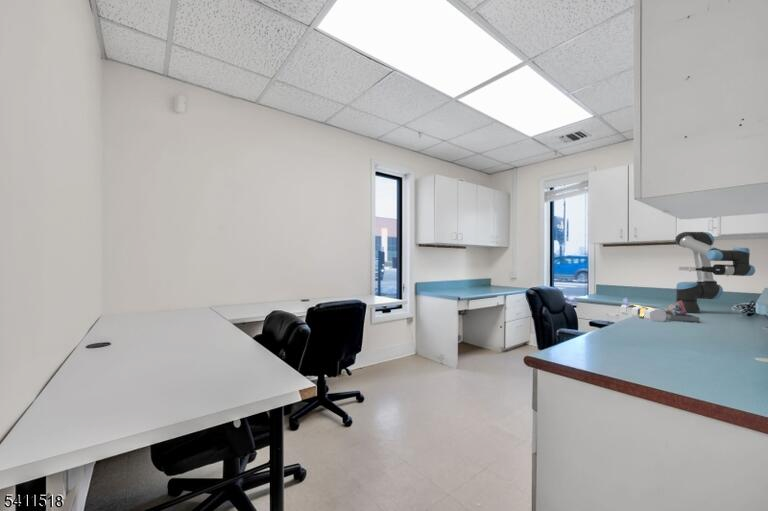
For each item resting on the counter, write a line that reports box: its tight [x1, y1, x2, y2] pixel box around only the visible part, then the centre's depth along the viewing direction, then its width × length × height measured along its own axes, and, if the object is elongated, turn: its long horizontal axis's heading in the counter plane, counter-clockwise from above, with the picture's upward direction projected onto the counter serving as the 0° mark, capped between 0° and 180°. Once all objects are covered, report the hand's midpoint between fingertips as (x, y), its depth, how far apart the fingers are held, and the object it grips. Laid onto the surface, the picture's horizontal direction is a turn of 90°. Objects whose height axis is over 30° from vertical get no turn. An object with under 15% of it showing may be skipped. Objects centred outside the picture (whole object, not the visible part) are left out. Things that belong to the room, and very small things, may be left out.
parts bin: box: [666, 313, 700, 324], centre depth 205 cm, size 15×16×4 cm
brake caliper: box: [662, 300, 687, 316], centre depth 205 cm, size 11×11×12 cm
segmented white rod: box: [620, 297, 667, 322], centre depth 210 cm, size 25×10×13 cm, turn 179°
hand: (683, 268), depth 222 cm, fingers open, 13 cm apart
